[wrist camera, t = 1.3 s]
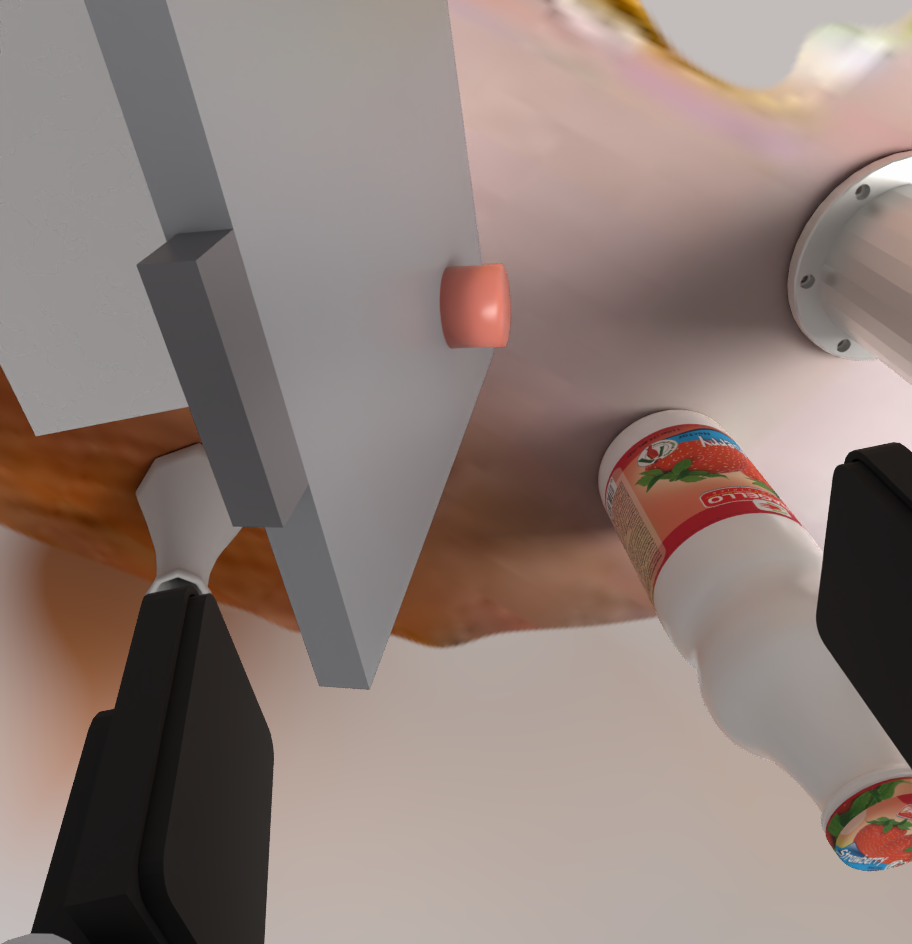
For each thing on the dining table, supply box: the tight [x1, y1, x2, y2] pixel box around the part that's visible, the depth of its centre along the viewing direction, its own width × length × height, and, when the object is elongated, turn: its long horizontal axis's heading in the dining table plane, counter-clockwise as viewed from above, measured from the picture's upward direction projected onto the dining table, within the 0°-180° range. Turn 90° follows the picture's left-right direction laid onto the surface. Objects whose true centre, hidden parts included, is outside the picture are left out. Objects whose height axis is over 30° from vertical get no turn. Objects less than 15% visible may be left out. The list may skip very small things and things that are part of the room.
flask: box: [135, 443, 242, 595], centre depth 49 cm, size 7×7×10 cm
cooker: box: [0, 0, 189, 436], centre depth 38 cm, size 20×25×10 cm
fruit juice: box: [598, 410, 912, 871], centre depth 46 cm, size 9×9×28 cm
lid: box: [84, 0, 511, 690], centre depth 25 cm, size 22×20×4 cm
